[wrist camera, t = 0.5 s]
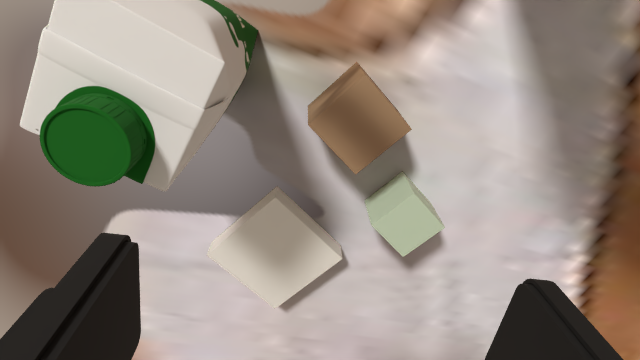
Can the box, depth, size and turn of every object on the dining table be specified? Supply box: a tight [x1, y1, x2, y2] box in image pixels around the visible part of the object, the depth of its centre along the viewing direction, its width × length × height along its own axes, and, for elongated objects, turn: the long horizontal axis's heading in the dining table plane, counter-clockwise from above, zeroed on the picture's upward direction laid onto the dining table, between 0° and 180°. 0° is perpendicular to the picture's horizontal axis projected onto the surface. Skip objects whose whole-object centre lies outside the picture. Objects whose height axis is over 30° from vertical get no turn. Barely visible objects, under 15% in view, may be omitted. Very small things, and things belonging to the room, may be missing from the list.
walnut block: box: [308, 62, 412, 174], centre depth 36 cm, size 6×6×6 cm
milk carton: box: [20, 0, 258, 191], centre depth 26 cm, size 9×9×20 cm
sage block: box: [365, 171, 445, 257], centre depth 40 cm, size 5×5×5 cm
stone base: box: [207, 186, 342, 309], centre depth 43 cm, size 10×10×2 cm
